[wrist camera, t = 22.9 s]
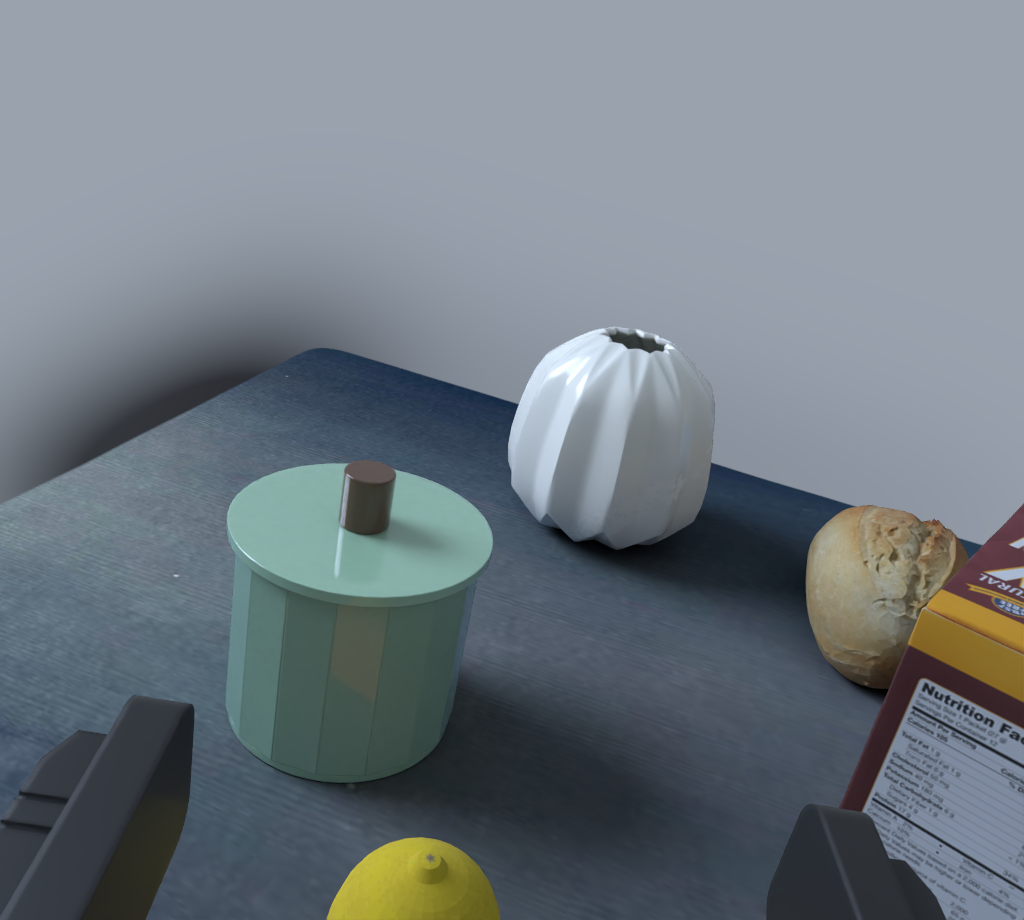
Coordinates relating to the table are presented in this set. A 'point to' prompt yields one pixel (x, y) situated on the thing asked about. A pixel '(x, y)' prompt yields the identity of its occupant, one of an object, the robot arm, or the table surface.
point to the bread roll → (875, 586)
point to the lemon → (416, 885)
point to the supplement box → (957, 740)
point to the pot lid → (359, 535)
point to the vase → (614, 438)
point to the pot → (341, 679)
